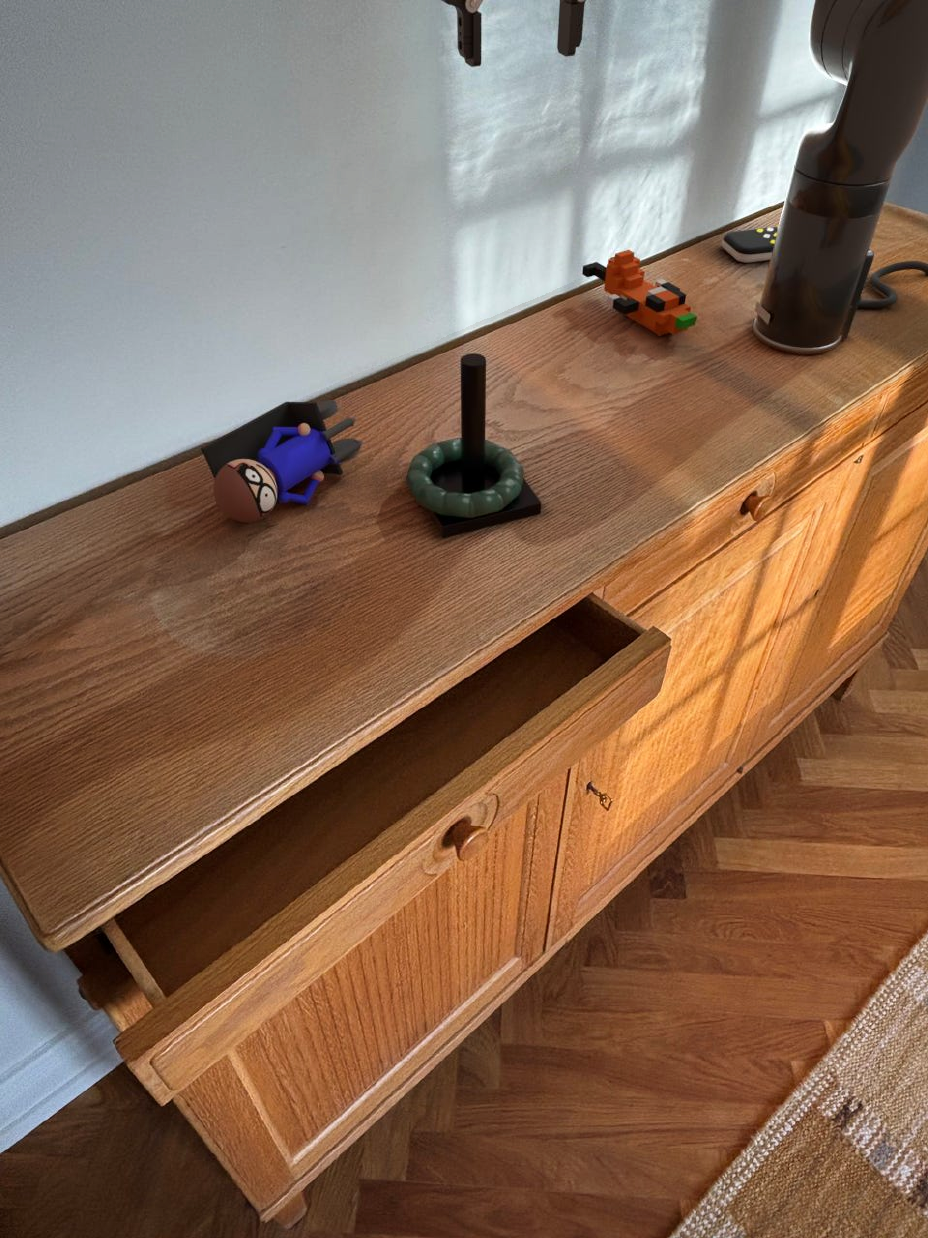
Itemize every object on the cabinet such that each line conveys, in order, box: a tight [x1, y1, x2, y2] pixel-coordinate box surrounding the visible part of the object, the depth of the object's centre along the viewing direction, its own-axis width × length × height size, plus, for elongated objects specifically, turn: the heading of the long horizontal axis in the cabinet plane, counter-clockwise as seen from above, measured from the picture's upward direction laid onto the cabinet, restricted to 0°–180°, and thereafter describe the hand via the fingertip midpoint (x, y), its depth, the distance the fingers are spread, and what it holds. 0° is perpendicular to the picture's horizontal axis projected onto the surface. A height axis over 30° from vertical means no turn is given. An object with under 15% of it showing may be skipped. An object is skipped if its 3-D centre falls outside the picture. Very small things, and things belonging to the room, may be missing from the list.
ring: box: [405, 437, 525, 518], centre depth 75 cm, size 10×10×2 cm
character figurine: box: [200, 399, 364, 523], centre depth 74 cm, size 8×7×15 cm
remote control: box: [721, 225, 779, 264], centre depth 112 cm, size 6×13×2 cm, turn 104°
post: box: [425, 352, 542, 539], centre depth 72 cm, size 9×9×13 cm
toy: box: [581, 249, 697, 337], centre depth 98 cm, size 8×6×15 cm
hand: (520, 59), depth 73 cm, fingers open, 8 cm apart
